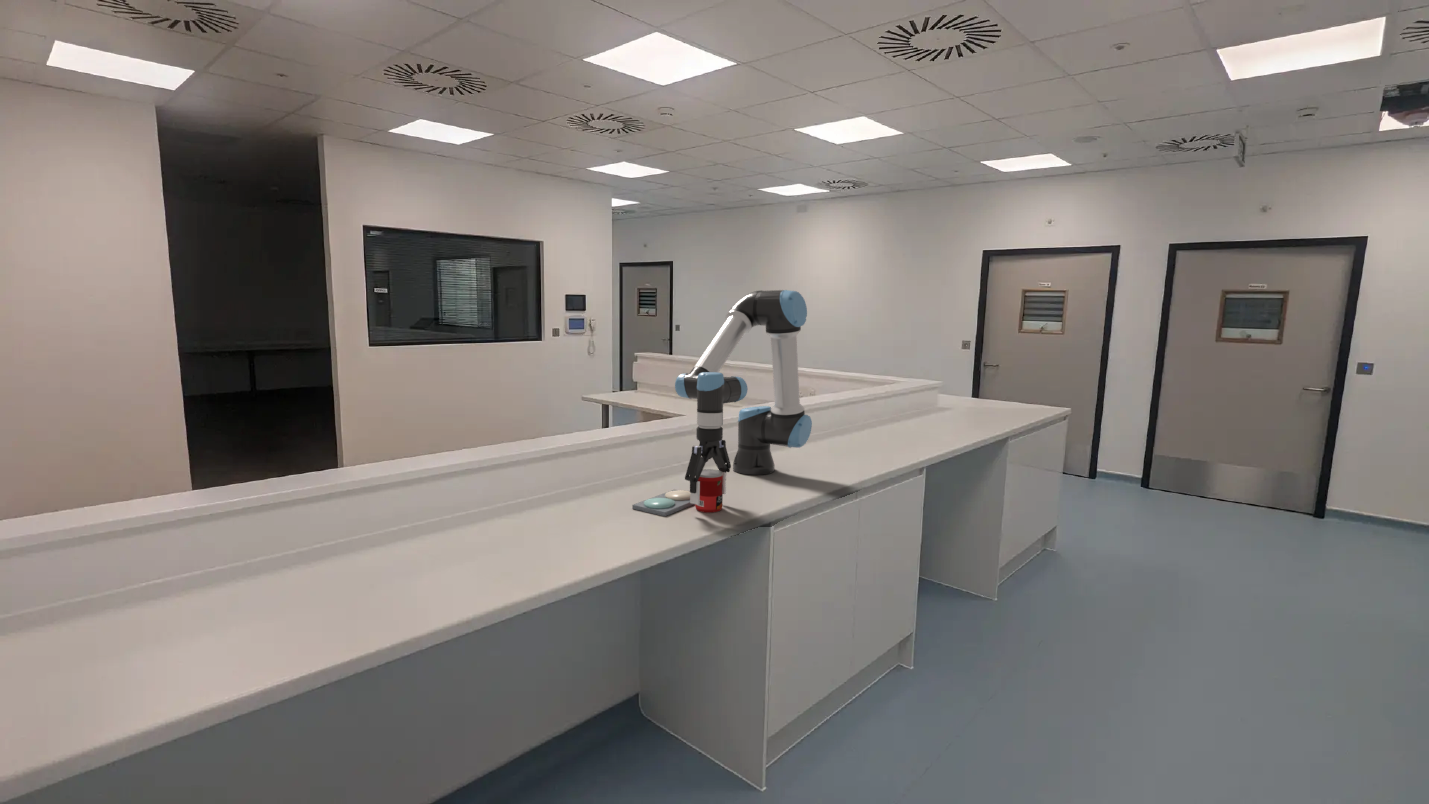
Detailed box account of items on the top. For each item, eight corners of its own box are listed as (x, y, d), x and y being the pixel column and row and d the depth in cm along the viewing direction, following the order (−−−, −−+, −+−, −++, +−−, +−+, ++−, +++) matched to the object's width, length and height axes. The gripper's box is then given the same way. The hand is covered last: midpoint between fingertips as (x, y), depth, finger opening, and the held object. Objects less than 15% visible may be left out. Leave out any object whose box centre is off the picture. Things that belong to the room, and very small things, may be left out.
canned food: (722, 513, 186) (722, 475, 184) (694, 512, 186) (694, 475, 184) (722, 505, 193) (723, 469, 192) (695, 504, 193) (696, 468, 192)
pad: (657, 498, 196) (657, 496, 196) (681, 503, 191) (681, 501, 191) (637, 505, 188) (637, 503, 188) (661, 510, 183) (661, 508, 183)
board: (674, 493, 205) (674, 487, 205) (705, 499, 199) (705, 494, 198) (632, 508, 189) (632, 502, 188) (665, 516, 182) (665, 510, 182)
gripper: (722, 419, 199) (721, 487, 201) (672, 430, 178) (671, 505, 181) (743, 422, 194) (741, 491, 197) (695, 433, 174) (693, 510, 177)
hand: (708, 498), depth 189 cm, fingers open, 13 cm apart
